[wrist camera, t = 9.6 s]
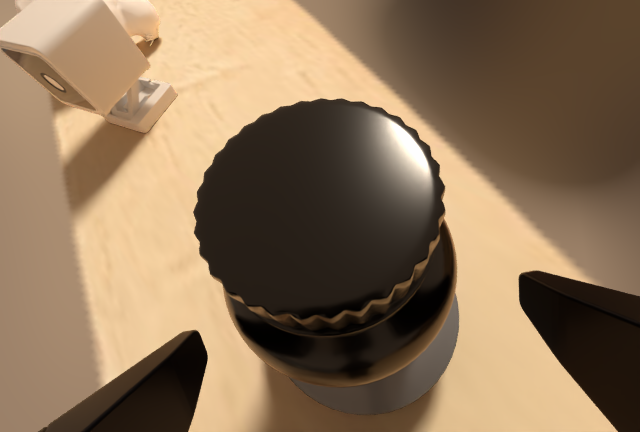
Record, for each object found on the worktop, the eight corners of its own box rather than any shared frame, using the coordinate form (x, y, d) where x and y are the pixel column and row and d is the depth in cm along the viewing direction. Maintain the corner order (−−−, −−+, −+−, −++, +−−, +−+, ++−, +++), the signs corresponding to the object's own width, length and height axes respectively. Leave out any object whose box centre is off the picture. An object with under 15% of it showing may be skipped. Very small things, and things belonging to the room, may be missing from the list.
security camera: (94, 132, 31) (-18, 37, 22) (138, 84, 33) (52, -20, 25) (139, 147, 29) (35, 48, 20) (182, 94, 31) (105, -14, 23)
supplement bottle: (344, 415, 14) (248, 541, 4) (265, 300, 17) (87, 186, 7) (450, 316, 15) (609, 191, 5) (358, 224, 18) (331, 24, 8)
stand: (470, 398, 16) (488, 403, 14) (285, 416, 17) (268, 424, 15) (422, 227, 21) (429, 205, 18) (278, 249, 22) (265, 232, 19)
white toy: (1, -23, 30) (124, -57, 32) (70, 59, 37) (166, 27, 39) (-3, 7, 27) (132, -33, 29) (72, 89, 34) (176, 53, 36)
